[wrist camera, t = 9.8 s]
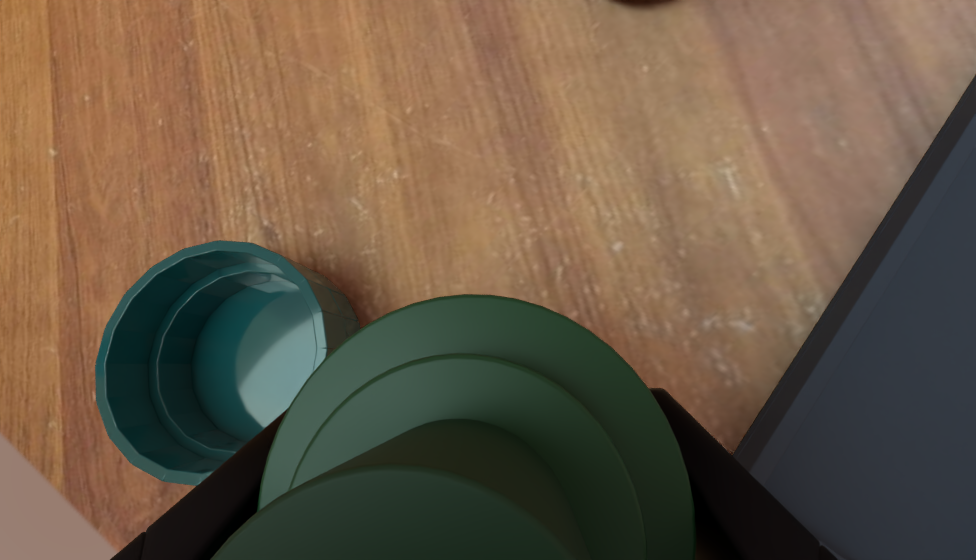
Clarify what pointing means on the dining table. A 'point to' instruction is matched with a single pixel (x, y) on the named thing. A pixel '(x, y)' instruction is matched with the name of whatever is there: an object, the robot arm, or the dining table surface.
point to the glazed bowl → (212, 354)
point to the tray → (889, 381)
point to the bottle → (472, 447)
